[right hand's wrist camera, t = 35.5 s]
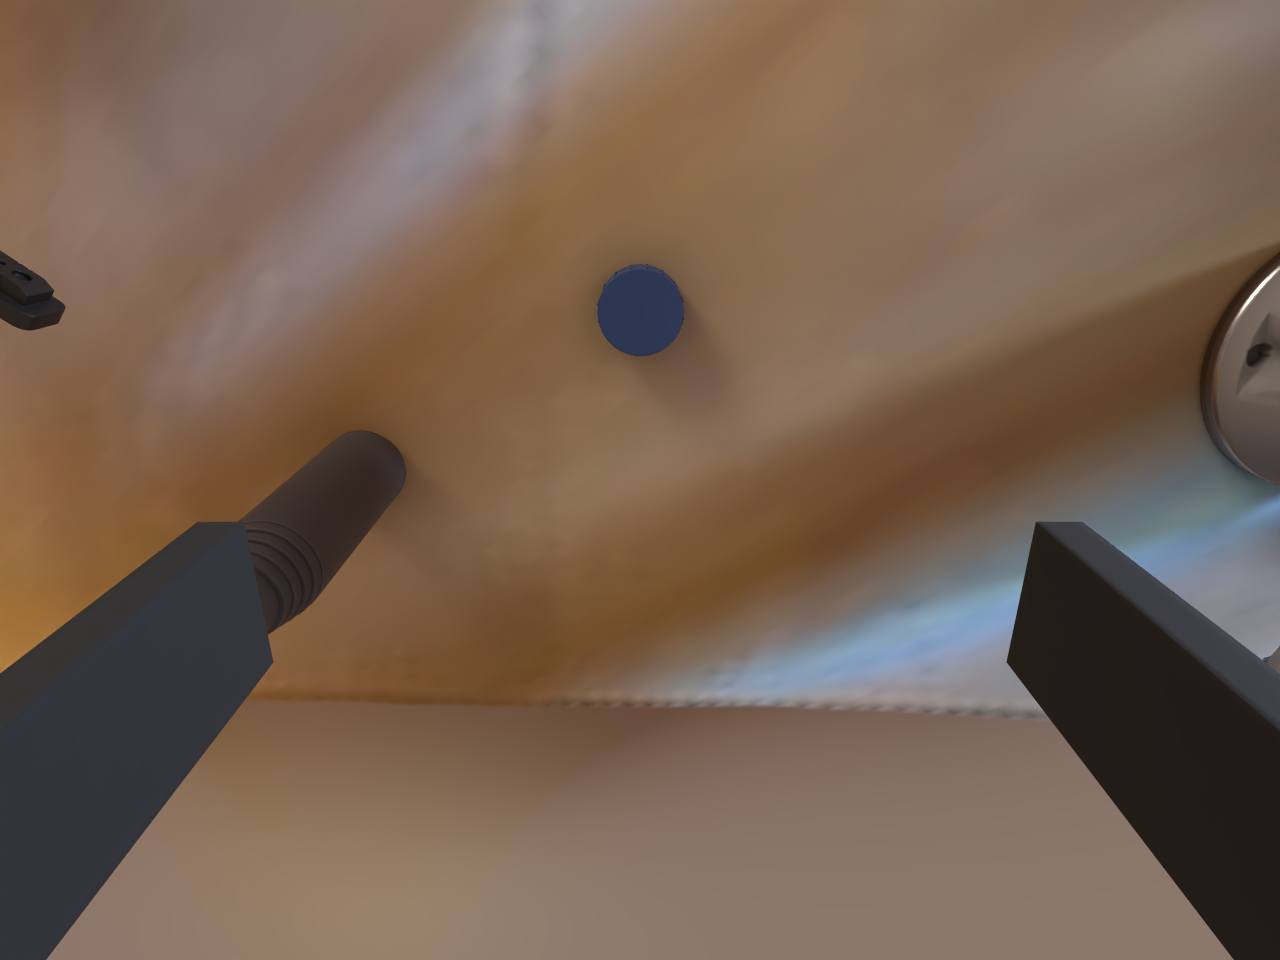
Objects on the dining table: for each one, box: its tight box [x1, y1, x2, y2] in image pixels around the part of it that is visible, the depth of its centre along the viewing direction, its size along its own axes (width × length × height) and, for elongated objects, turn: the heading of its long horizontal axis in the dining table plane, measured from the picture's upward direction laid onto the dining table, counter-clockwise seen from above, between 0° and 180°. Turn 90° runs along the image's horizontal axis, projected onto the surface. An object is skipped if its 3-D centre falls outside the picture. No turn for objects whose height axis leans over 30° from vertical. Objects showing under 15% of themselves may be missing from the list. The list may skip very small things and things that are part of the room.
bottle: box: [239, 431, 405, 634], centre depth 37 cm, size 5×5×18 cm
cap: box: [597, 264, 684, 356], centre depth 41 cm, size 4×4×2 cm
